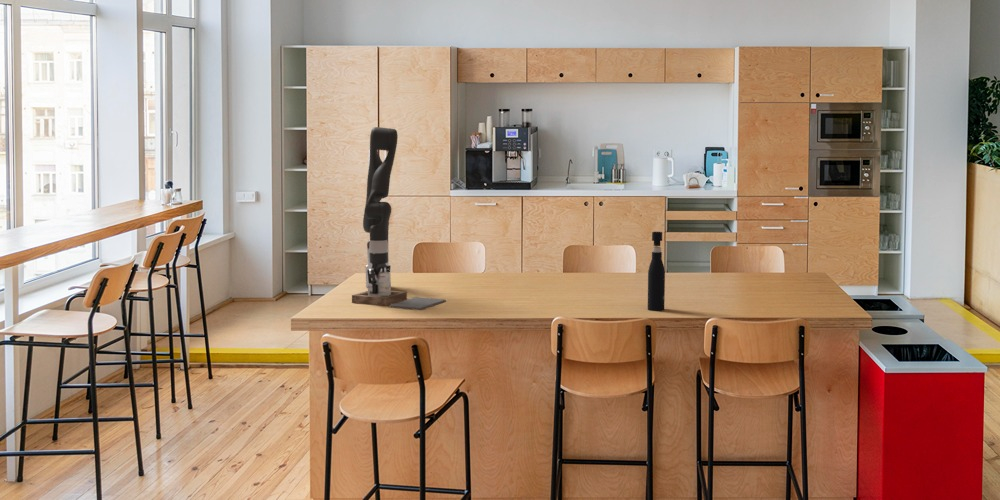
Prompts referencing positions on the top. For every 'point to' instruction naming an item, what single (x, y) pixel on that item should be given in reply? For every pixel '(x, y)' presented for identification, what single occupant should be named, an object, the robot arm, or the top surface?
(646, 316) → the top surface
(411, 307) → the rubber mat
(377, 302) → the frame
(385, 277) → the ink box
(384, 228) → the robot arm
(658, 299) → the wine bottle
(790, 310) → the top surface
